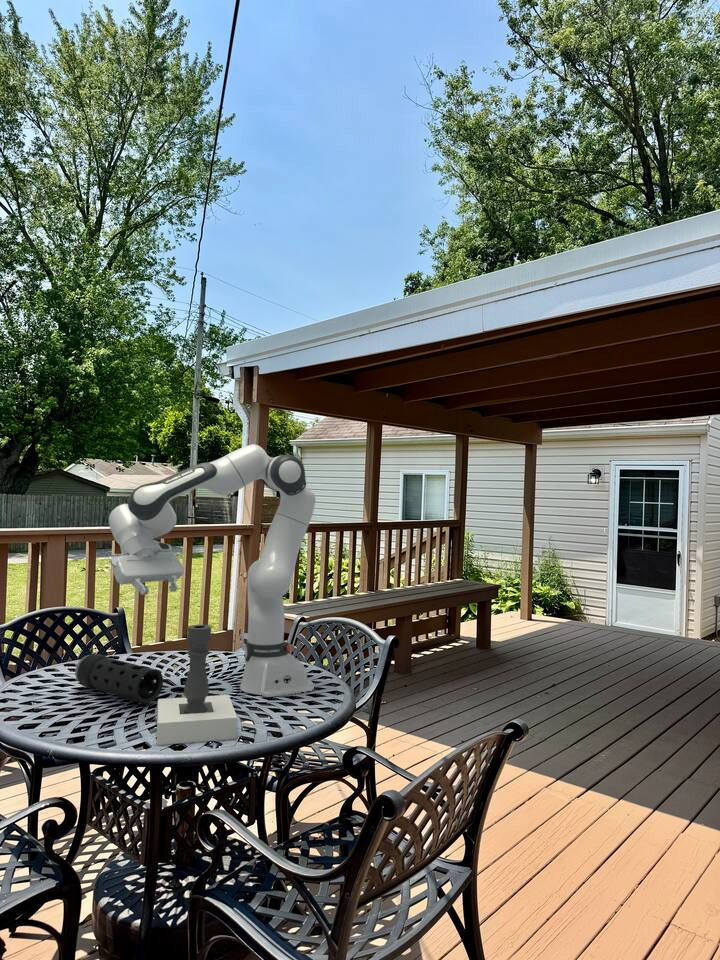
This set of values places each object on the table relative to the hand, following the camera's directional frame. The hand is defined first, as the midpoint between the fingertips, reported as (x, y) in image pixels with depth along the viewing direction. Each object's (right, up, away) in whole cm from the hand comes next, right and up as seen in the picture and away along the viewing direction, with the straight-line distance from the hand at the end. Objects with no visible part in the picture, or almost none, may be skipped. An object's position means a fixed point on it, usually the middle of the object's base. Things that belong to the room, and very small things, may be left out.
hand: (160, 591), depth 167 cm
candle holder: (+13, -31, -15) cm, 37 cm away
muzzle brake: (-15, -32, +7) cm, 36 cm away
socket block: (+14, -31, -15) cm, 37 cm away
